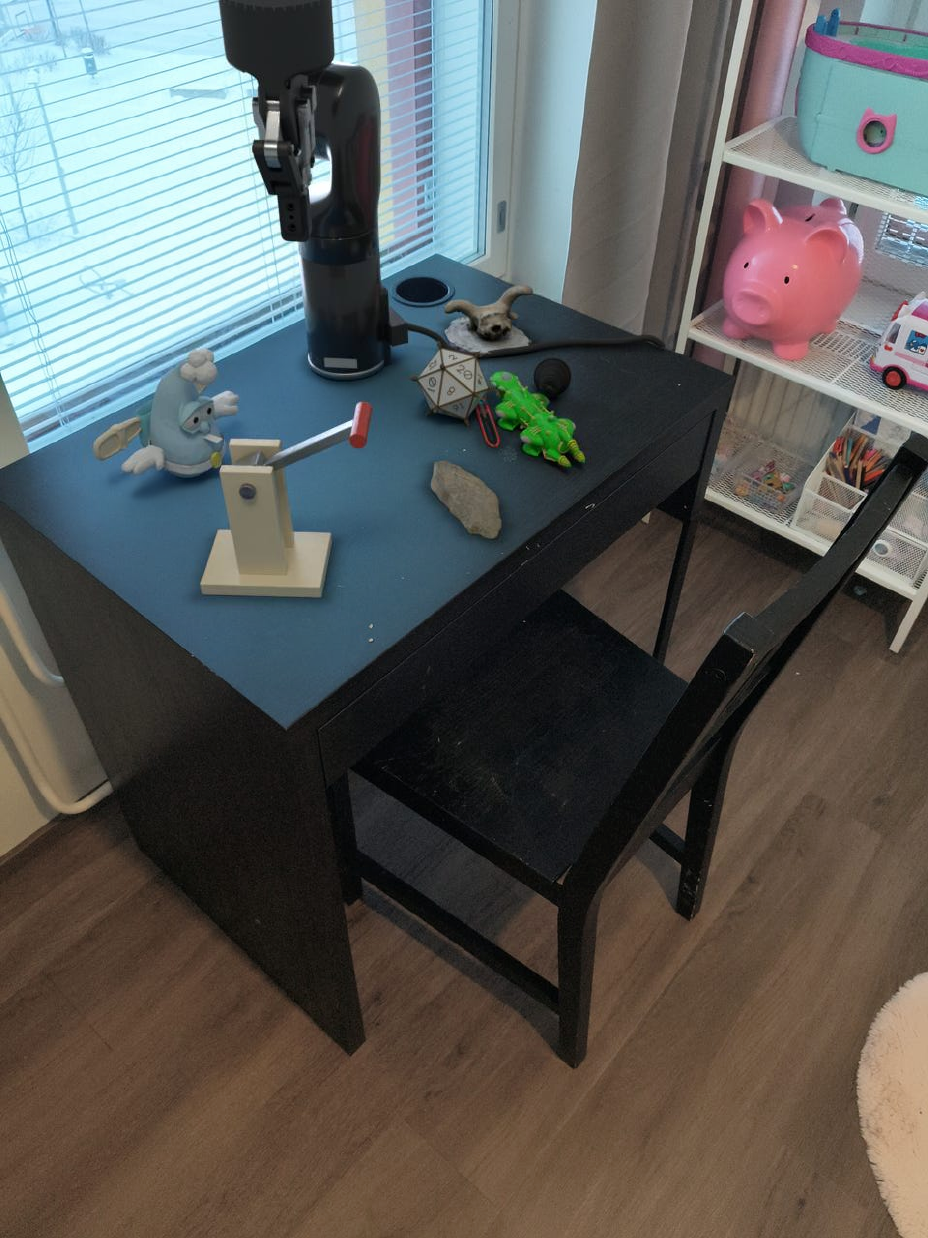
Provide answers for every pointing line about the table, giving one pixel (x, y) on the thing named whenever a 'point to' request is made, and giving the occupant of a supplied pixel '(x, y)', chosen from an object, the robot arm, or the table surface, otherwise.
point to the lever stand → (263, 535)
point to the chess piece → (552, 377)
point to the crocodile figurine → (534, 420)
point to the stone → (467, 499)
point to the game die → (453, 383)
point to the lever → (317, 442)
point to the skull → (486, 324)
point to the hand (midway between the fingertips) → (297, 236)
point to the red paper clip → (484, 410)
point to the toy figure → (175, 423)
